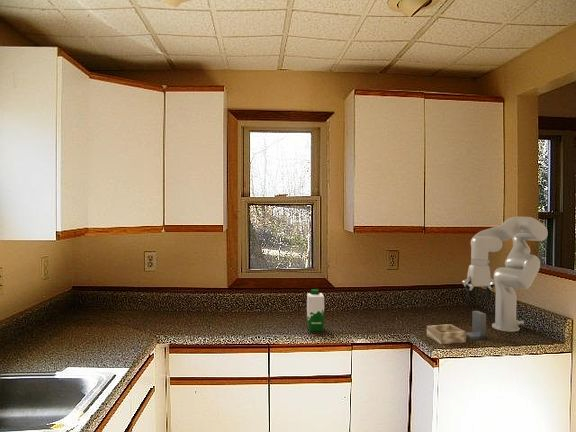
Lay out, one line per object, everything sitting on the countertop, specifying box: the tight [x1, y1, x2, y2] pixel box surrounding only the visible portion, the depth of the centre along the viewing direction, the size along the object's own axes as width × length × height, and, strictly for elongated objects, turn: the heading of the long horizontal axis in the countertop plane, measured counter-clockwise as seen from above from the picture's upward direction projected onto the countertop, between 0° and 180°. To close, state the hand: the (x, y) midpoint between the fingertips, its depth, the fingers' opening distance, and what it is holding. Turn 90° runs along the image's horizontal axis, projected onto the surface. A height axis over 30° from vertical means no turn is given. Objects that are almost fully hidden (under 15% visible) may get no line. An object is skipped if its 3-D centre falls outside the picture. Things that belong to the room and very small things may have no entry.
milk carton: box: [306, 288, 325, 332], centre depth 206 cm, size 9×9×20 cm
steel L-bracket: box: [466, 310, 487, 341], centre depth 193 cm, size 8×6×12 cm
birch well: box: [426, 323, 467, 345], centre depth 191 cm, size 13×12×5 cm
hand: (478, 297), depth 193 cm, fingers open, 9 cm apart
